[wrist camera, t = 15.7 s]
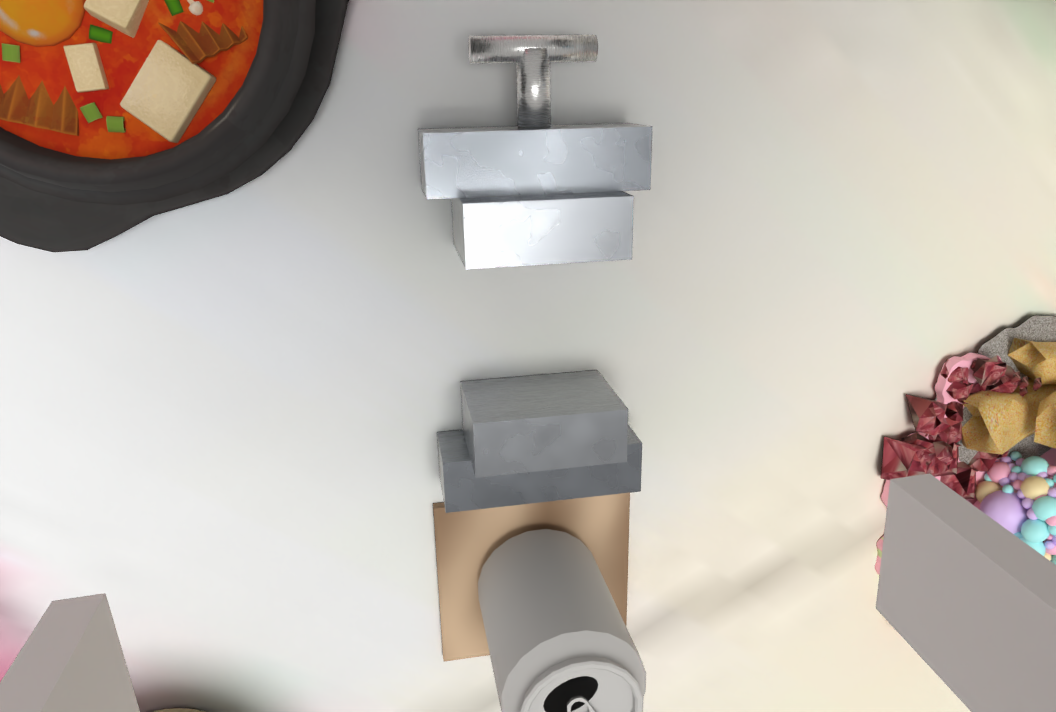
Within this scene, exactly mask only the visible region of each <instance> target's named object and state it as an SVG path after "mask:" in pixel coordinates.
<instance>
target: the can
mask: <svg viewBox="0 0 1056 712" xmlns="http://www.w3.org/2000/svg"><path fill="white" fill-rule="evenodd" d="M478 597H479V603H480V608H481V613H482V618H483V623H484V628H485V633H486V638H487V642H488V647H489V652H490V657H491V662H492V667H493V672H494V677H495V682H496V687H497V692H498V696H499V701H500V706H501V711H502V712H643V696H644V694H645V690H646V671H645V669H644V666H643V663H642V661H641V658H640V655H639V653H638V651H637V649H636V647H635V645H634V643H633V640H632V638H631V636H630V634H629V632H628V630H627V628H626V625H625V623H624V621H623V619H622V617H621V615H620V613H619V610H618V608H617V606H616V604H615V602H614V600H613V598H612V595H611V593H610V591H609V589H608V587H607V585H606V583H605V580H604V578H603V576H602V574H601V572H600V570H599V568H598V565H597V563H596V561H595V559H594V557H593V555H592V553H591V551H590V550H589V549H588V548H587V547H586V546H585V545H584V544H583V542H582V541H581V540H579V539H577V538H576V537H574V536H572V535H570V534H568V533H566V532H562V531H556V530H550V529H542V530H533V531H527V532H524V533H522V534H519V535H517V536H515V537H512V538H510V539H508V540H507V541H506V542H504V543H503V544H502V545H500V546H499V547H498V548H497V549H495V550H494V551H493V552H492V554H491V555H490V557H489V558H488V559H487V561H486V562H485V564H484V565H483V567H482V570H481V574H480V577H479V580H478Z"/></svg>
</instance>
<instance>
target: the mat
mask: <svg viewBox="0 0 1056 712" xmlns="http://www.w3.org/2000/svg"><path fill="white" fill-rule="evenodd" d="M629 506H630V493H621V494H612V495H603V496H594V497H585V498H576V499H567V500H558V501H549V502H540V503H531V504H522V505H513V506H504V507H495V508H486V509H477V510H468V511H459V512H450V513H446V512H445V506H444V502H442V503H433V512H434V527H435V542H436V557H437V573H438V588H439V603H440V618H441V633H442V648H443V659H444V661H451V660H458V659H465V658H472V657H479V656H486V655H490V652H489V647H488V642H487V638H486V633H485V628H484V623H483V618H482V613H481V608H480V603H479V597H478V580H479V577H480V574H481V570H482V567H483V565H484V564H485V562H486V561H487V559H488V558H489V557H490V555H491V554H492V552H493V551H494V550H495V549H497V548H498V547H499V546H500V545H502V544H503V543H504V542H506V541H507V540H508V539H510V538H512V537H515V536H517V535H519V534H522V533H524V532H527V531H533V530H542V529H550V530H556V531H562V532H566V533H568V534H570V535H572V536H574V537H576V538H577V539H579V540H581V541H582V542H583V544H584V545H585V546H586V547H587V548H588V549H589V550H590V551H591V553H592V555H593V557H594V559H595V561H596V563H597V565H598V568H599V570H600V572H601V574H602V576H603V578H604V580H605V583H606V585H607V587H608V589H609V591H610V593H611V595H612V598H613V600H614V602H615V604H616V606H617V608H618V610H619V613H620V615H621V617H622V619H623V621H624V623H625V625H626V616H627V579H628V543H629Z"/></svg>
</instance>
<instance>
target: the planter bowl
mask: <svg viewBox="0 0 1056 712" xmlns="http://www.w3.org/2000/svg"><path fill="white" fill-rule="evenodd" d="M153 712H206V711H201V710H196V709H188V708H171V709H162V710H157V711H153Z"/></svg>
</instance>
